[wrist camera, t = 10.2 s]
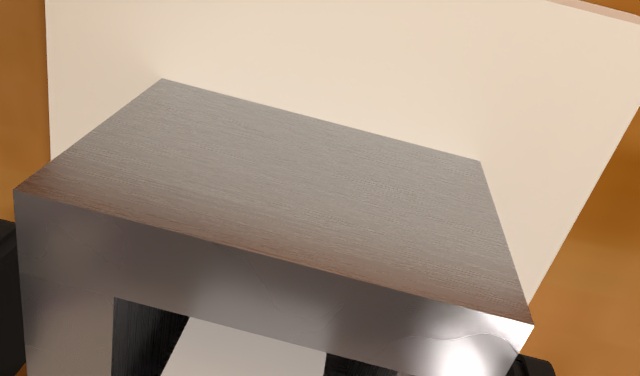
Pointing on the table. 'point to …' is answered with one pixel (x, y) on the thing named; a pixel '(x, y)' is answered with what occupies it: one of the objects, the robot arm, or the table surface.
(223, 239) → the collar
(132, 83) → the post plinth
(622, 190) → the table surface
